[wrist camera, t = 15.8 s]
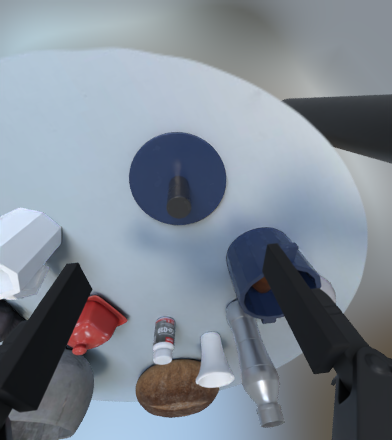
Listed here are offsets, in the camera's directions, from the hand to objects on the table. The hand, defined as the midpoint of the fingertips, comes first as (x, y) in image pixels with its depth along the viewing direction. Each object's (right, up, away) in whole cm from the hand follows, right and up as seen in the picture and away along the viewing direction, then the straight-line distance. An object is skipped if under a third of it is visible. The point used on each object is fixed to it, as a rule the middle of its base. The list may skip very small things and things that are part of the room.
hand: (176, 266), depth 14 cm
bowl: (-35, -33, +38) cm, 61 cm away
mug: (-25, 0, +18) cm, 30 cm away
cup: (+5, -29, +39) cm, 49 cm away
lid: (-1, +9, +14) cm, 17 cm away
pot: (+14, -3, +24) cm, 27 cm away
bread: (-5, -49, +51) cm, 70 cm away
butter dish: (-22, -17, +29) cm, 40 cm away
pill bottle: (-6, -22, +34) cm, 40 cm away
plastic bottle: (+11, -17, +32) cm, 38 cm away
